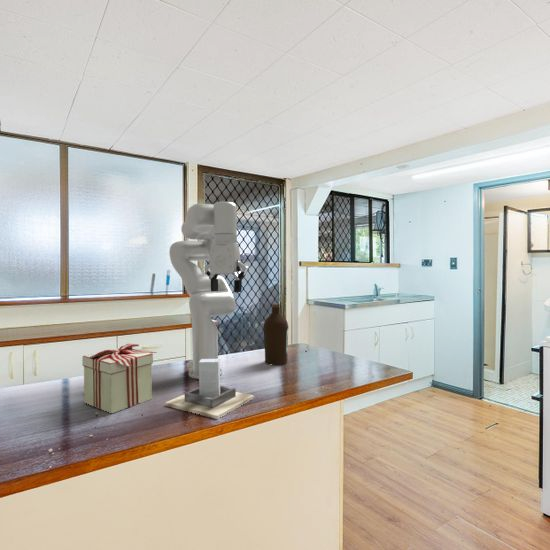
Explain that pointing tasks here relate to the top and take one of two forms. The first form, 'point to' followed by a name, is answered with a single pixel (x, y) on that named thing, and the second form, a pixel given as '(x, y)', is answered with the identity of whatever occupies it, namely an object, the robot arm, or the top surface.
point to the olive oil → (276, 337)
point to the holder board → (210, 402)
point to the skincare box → (209, 377)
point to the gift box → (118, 378)
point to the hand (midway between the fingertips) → (226, 291)
